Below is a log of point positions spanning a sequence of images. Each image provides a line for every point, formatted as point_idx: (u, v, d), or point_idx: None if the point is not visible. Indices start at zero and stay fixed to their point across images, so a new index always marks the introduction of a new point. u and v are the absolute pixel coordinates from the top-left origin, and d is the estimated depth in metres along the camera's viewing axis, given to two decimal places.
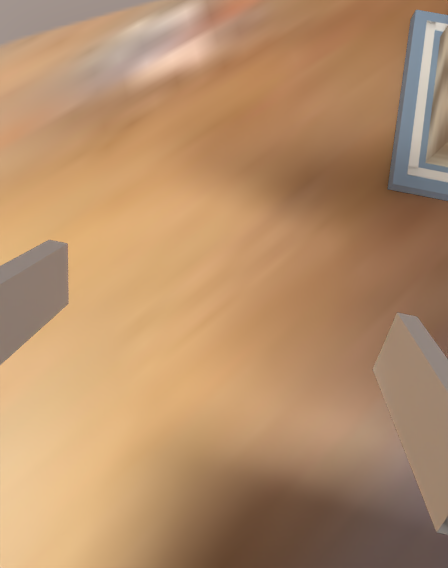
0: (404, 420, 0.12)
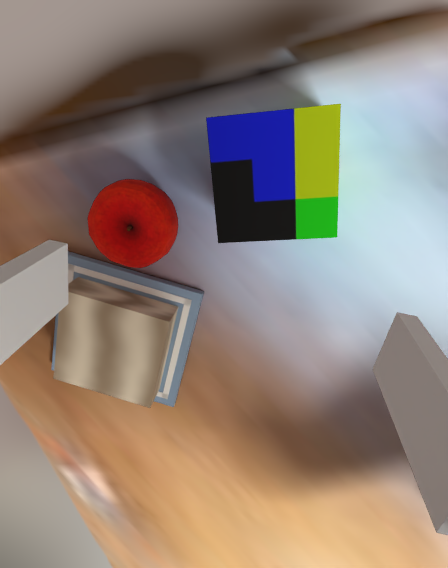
0: (404, 420, 0.12)
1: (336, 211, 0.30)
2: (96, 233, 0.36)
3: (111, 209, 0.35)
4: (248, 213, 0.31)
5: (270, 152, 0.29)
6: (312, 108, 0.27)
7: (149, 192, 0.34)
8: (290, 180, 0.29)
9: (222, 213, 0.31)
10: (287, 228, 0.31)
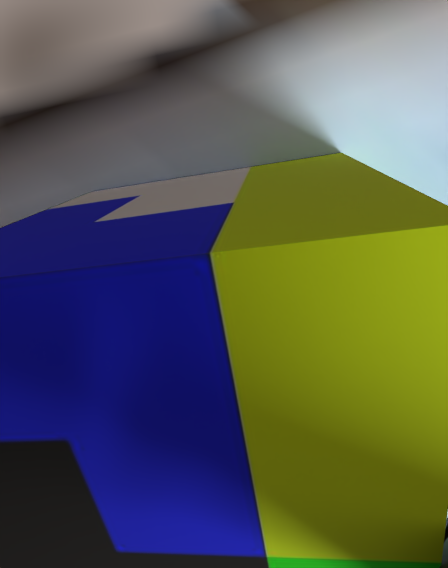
0: None
1: None
2: None
3: None
4: None
5: (136, 423, 0.07)
6: (310, 250, 0.05)
7: None
8: (239, 508, 0.07)
9: (20, 567, 0.09)
10: None
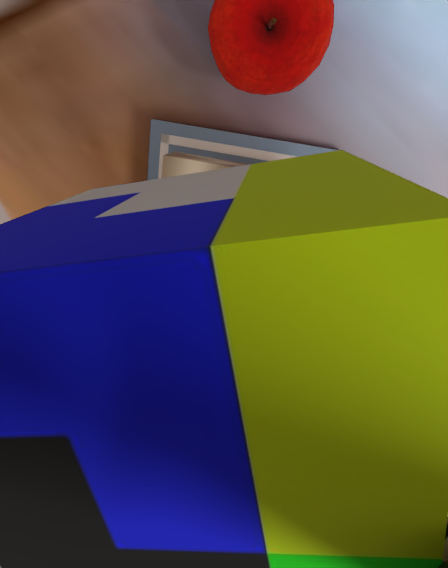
0: None
1: None
2: (226, 37, 0.26)
3: None
4: None
5: (136, 418, 0.06)
6: (311, 243, 0.05)
7: None
8: (240, 504, 0.07)
9: (20, 564, 0.09)
10: None
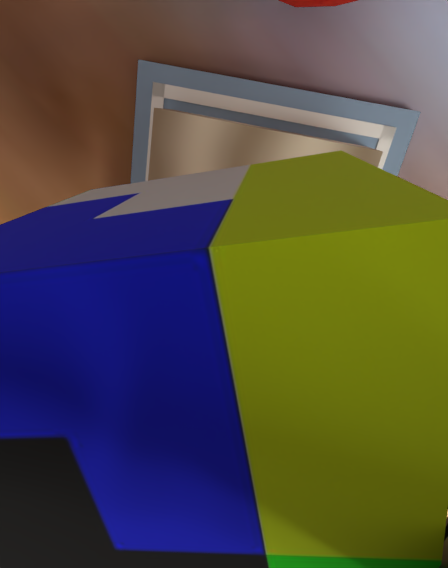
0: None
1: None
2: None
3: None
4: None
5: (135, 419, 0.06)
6: (309, 245, 0.05)
7: None
8: (238, 505, 0.07)
9: (19, 565, 0.09)
10: None
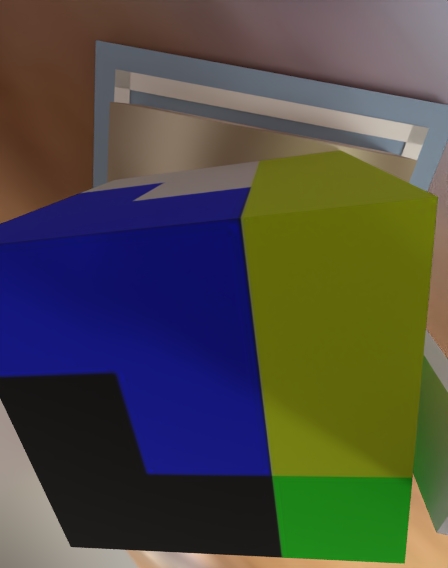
0: None
1: (405, 510, 0.09)
2: None
3: None
4: (137, 496, 0.10)
5: (173, 357, 0.08)
6: (316, 216, 0.07)
7: None
8: (252, 431, 0.09)
9: (62, 491, 0.11)
10: (253, 535, 0.10)
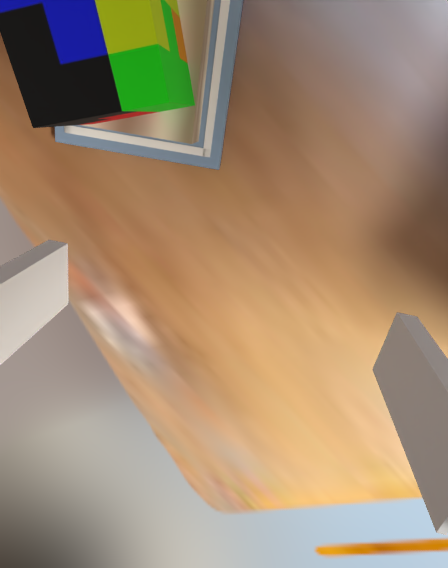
0: (404, 420, 0.12)
1: (160, 65, 0.23)
2: None
3: None
4: (57, 81, 0.24)
5: None
6: None
7: None
8: (96, 27, 0.23)
9: (26, 85, 0.25)
10: (108, 97, 0.25)
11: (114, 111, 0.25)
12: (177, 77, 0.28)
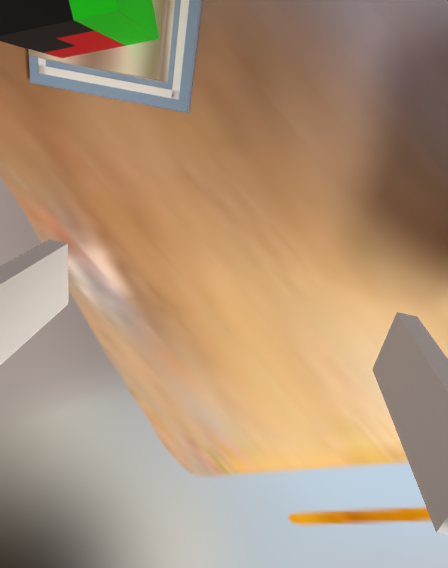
0: (404, 420, 0.12)
1: None
2: None
3: None
4: None
5: None
6: None
7: None
8: None
9: None
10: (60, 6, 0.26)
11: (66, 20, 0.26)
12: None
